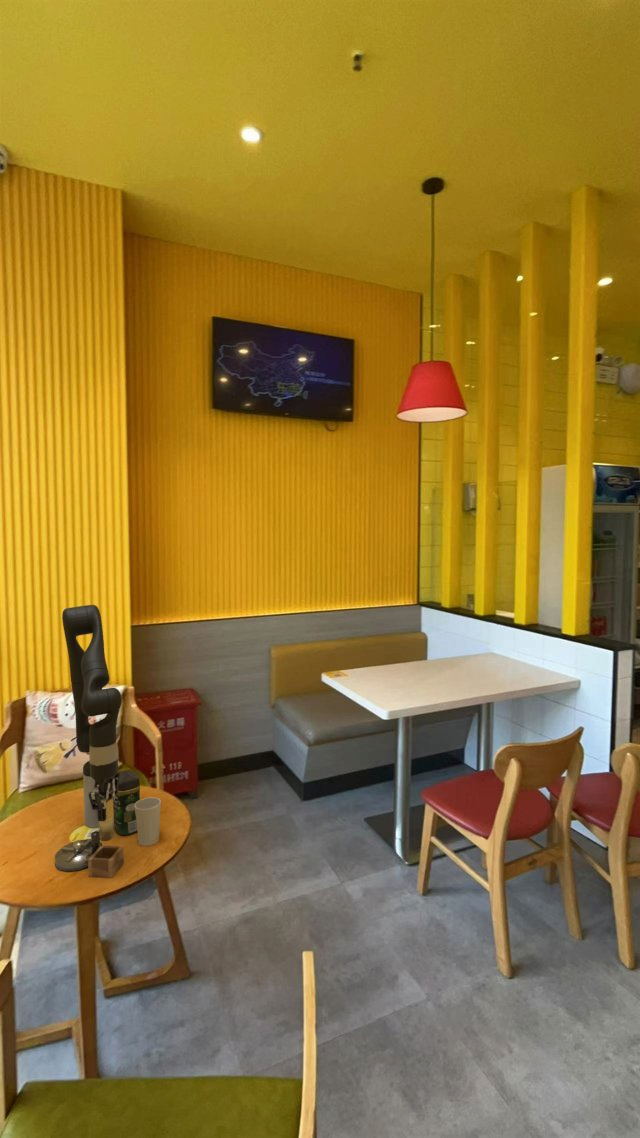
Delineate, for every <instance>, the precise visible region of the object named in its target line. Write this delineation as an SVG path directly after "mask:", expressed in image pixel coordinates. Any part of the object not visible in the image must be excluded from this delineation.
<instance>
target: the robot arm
mask: <svg viewBox="0 0 640 1138" xmlns="http://www.w3.org/2000/svg"><path fill="white" fill-rule="evenodd" d="M61 615H62V616H61V619H62V628H63V633H64V639H65V643H66V648H67V654H68V662H69V673H70V683H71V691H72V698H73V705H74V713H75V714H74V715H75V735H76V736H75V737H76V746H77V749H78V751H79V752H80V753H84V754H85V753H87V754H88V753H89V754H88V755H89V756H88V757H89V760H87V761H86V762H85V763H84V764H83V766H82V777H83V778H82V780H83V806H84V807H83V809H84V813H83V814H84V825H85V826H86V827H89V828H99V821H105V820H106V800H107V799H108V797H112V798H113V811H114V799H115V794H117V793H118V787H119V778H120V773H118V772H119V751H118V750H119V749H118V743H117V722H118V717H119V713H120V710H121V705H122V701H123V700H122V693H121V691H120V690H119V689H118V688H117V687H116V688H115V687H108V688H104V687H106V686H107V685H108V684H109V682H110V681H111V679H110V673H109V669H108V665H107V662H106V661H107V660H106V653H105V642H104V641H105V639H104V631H103V621H102V615H101V612H100V609H99V608H98V606H97V605H95V604H87V605H79V606H73V607H68V608H67V607H66V608H65V609H64V610H63V611H62V614H61ZM91 634H92V637H91V640H90V642H89V644H88V646H87V648H86V650H84V649H83V648H82V646H81V645H80V644H79V642H78V639H77V637H78V636H84V635H91ZM101 715H105V717H104V718H102V719H99V720H98V721H96V722H93V723H90V721H89V719H90V717H96V716H101ZM101 800H102V801H103V804H102V802H101Z"/></svg>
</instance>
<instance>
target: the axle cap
mask: <svg viewBox="0 0 640 1138" xmlns="http://www.w3.org/2000/svg"><path fill="white" fill-rule="evenodd" d="M73 842H74V843H73V847H74V851H76V852H77V851H81V850H83V849H84V848H85V844H84V839H77V840H75V841H73Z"/></svg>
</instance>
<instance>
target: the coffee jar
mask: <svg viewBox="0 0 640 1138" xmlns="http://www.w3.org/2000/svg"><path fill="white" fill-rule="evenodd" d="M118 773H120V778H119V787H118V793H117V794H115V799H114V831H116V832H117V834H118V835H120V836H127V835H128V836H129V835H131V834H134V833H136V832H138V831H137V822H136V815H135V807H134V805H135V803H136V802H137V801H139V800H141V798H140V797H141V791H140V789H141V782H140V777H139V775H138V774H137V773H136V772H135V771H133V770H130V769H125V770H121V771H118Z"/></svg>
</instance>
